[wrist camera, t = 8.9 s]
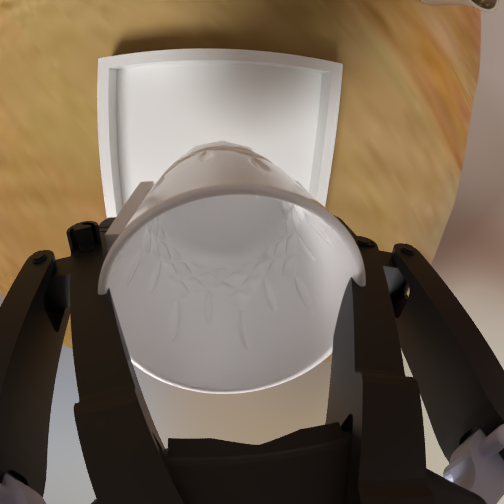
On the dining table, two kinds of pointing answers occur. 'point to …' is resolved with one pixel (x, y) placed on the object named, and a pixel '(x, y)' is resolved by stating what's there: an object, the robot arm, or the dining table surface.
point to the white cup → (229, 274)
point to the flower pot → (467, 3)
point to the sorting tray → (214, 113)
